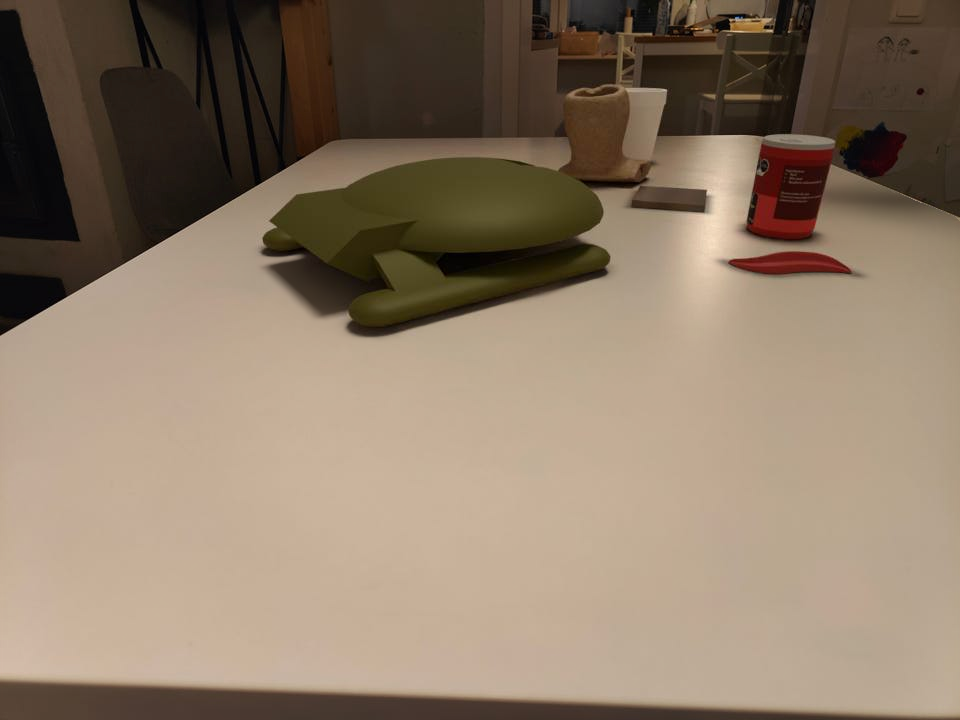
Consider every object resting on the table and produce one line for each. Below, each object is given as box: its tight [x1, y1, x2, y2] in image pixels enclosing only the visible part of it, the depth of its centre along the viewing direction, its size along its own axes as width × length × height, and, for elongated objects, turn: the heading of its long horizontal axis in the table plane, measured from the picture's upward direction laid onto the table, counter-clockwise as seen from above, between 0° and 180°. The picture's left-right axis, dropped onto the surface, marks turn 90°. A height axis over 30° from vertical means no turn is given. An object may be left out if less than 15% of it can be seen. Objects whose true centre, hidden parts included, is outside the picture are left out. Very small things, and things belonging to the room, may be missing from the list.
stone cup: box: [557, 84, 652, 183], centre depth 101 cm, size 15×12×15 cm
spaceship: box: [261, 156, 611, 328], centre depth 68 cm, size 35×31×10 cm
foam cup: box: [622, 87, 668, 161], centre depth 116 cm, size 10×9×13 cm
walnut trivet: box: [631, 185, 708, 213], centre depth 91 cm, size 10×10×1 cm
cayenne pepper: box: [727, 250, 853, 275], centre depth 64 cm, size 12×5×2 cm, turn 67°
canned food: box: [746, 133, 836, 240], centre depth 75 cm, size 8×8×11 cm
